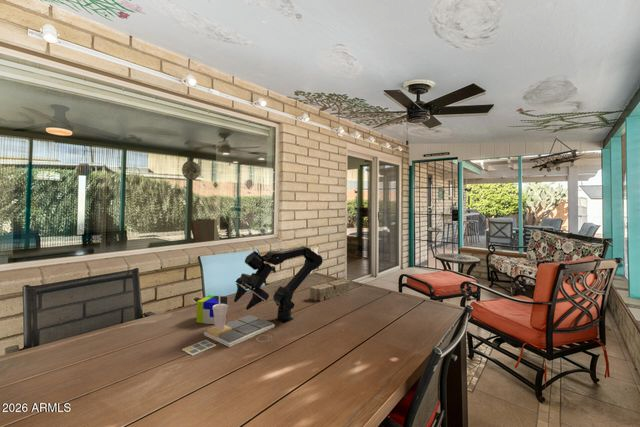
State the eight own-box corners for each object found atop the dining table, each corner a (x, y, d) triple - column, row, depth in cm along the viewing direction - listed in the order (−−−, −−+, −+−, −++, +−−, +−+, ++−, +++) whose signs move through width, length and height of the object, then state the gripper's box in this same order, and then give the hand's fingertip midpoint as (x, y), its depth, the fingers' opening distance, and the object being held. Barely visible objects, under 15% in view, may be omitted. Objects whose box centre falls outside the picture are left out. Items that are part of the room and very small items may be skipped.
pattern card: (205, 340, 120) (205, 339, 120) (216, 345, 116) (216, 344, 116) (182, 349, 112) (182, 348, 112) (192, 355, 108) (192, 354, 108)
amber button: (221, 328, 131) (221, 323, 131) (231, 333, 127) (232, 328, 127) (207, 334, 125) (207, 329, 125) (217, 338, 121) (217, 333, 121)
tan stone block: (318, 303, 173) (350, 293, 193) (318, 289, 172) (350, 280, 193) (309, 300, 179) (341, 290, 199) (309, 286, 178) (341, 277, 198)
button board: (249, 318, 146) (249, 313, 145) (274, 326, 136) (274, 322, 136) (203, 335, 125) (204, 330, 125) (229, 347, 115) (229, 342, 115)
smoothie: (219, 324, 130) (220, 293, 130) (230, 327, 128) (231, 295, 127) (208, 329, 125) (209, 296, 124) (219, 332, 122) (220, 299, 122)
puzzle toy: (215, 324, 137) (216, 303, 136) (196, 322, 139) (196, 301, 138) (226, 316, 146) (227, 296, 146) (208, 314, 148) (209, 295, 148)
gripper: (238, 261, 137) (217, 290, 131) (263, 272, 125) (241, 305, 119) (252, 272, 144) (233, 300, 138) (277, 284, 132) (257, 316, 126)
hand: (240, 305), depth 130 cm, fingers open, 9 cm apart
